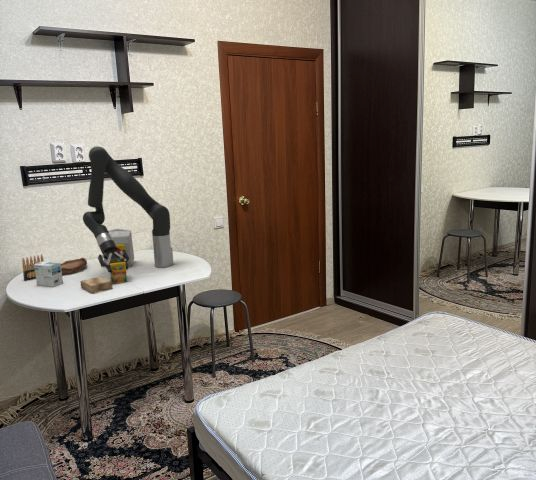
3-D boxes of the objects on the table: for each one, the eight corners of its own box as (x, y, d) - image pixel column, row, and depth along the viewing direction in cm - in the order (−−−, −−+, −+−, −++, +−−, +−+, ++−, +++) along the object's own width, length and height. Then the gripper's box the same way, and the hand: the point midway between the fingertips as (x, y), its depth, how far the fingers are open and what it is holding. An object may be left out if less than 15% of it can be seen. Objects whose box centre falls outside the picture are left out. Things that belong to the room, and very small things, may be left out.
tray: (101, 283, 243) (100, 276, 242) (112, 288, 235) (111, 281, 234) (81, 288, 237) (80, 280, 236) (92, 293, 228) (91, 286, 227)
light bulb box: (63, 283, 246) (61, 261, 243) (53, 287, 239) (51, 265, 237) (46, 281, 249) (43, 260, 247) (36, 285, 243) (33, 264, 240)
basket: (71, 263, 283) (70, 254, 282) (96, 267, 274) (95, 258, 272) (36, 274, 263) (35, 265, 262) (63, 278, 254) (62, 269, 253)
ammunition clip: (45, 275, 259) (42, 253, 256) (46, 276, 257) (43, 254, 255) (23, 280, 252) (20, 257, 249) (24, 281, 251) (21, 258, 248)
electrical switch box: (103, 273, 267) (98, 239, 259) (108, 262, 281) (103, 229, 273) (131, 272, 269) (127, 237, 261) (134, 261, 282) (130, 228, 275)
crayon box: (111, 284, 241) (109, 260, 239) (111, 282, 244) (108, 259, 241) (127, 281, 244) (125, 258, 242) (126, 280, 247) (124, 257, 244)
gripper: (94, 242, 240) (107, 269, 235) (121, 237, 250) (135, 263, 244) (90, 250, 245) (103, 278, 240) (117, 245, 255) (130, 271, 249)
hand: (119, 270), depth 242 cm, fingers closed on crayon box, 8 cm apart
